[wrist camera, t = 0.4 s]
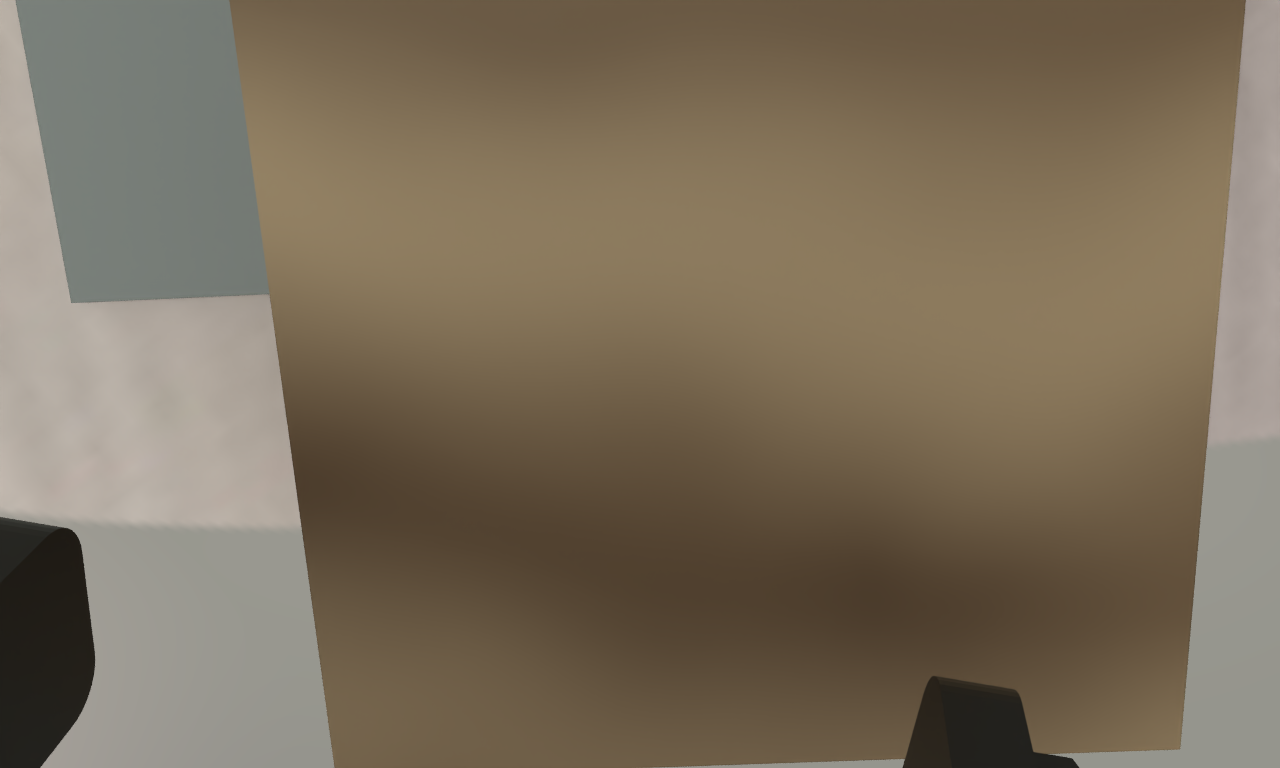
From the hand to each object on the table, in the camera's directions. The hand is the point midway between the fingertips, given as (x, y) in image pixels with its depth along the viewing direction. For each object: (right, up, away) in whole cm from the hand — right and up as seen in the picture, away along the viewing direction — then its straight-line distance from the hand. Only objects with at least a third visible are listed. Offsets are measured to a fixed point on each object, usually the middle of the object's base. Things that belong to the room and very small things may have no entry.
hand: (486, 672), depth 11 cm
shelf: (+3, +14, +23) cm, 27 cm away
